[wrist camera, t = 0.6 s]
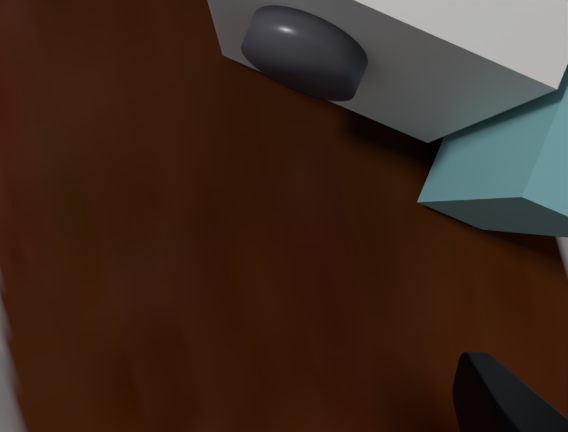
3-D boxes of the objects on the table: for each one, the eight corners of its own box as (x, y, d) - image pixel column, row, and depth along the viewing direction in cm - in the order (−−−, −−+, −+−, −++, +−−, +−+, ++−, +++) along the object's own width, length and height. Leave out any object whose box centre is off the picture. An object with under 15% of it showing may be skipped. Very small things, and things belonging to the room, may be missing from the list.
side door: (481, 229, 22) (629, 242, 13) (417, 202, 22) (521, 196, 13) (567, 23, 22) (773, -105, 13) (503, -6, 22) (666, -155, 13)
